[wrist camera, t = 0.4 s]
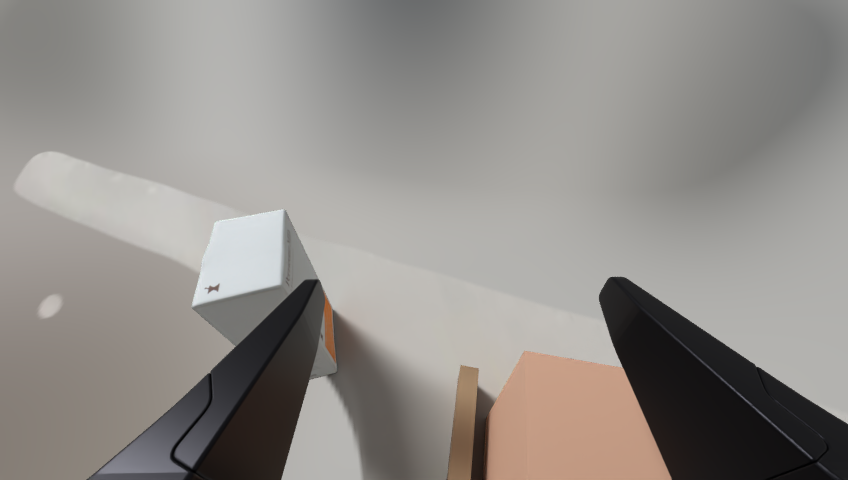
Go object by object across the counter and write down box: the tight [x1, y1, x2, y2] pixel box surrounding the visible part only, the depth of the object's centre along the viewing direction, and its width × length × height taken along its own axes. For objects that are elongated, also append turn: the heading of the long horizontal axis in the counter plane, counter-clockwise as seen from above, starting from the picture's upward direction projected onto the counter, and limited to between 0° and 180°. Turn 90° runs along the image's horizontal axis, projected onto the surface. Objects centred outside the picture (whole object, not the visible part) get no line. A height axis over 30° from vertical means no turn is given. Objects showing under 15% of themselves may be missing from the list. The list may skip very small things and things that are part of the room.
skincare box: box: [192, 209, 337, 380], centre depth 21 cm, size 6×4×12 cm
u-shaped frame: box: [447, 365, 479, 480], centre depth 18 cm, size 10×9×3 cm
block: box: [483, 351, 672, 480], centre depth 15 cm, size 5×5×12 cm
